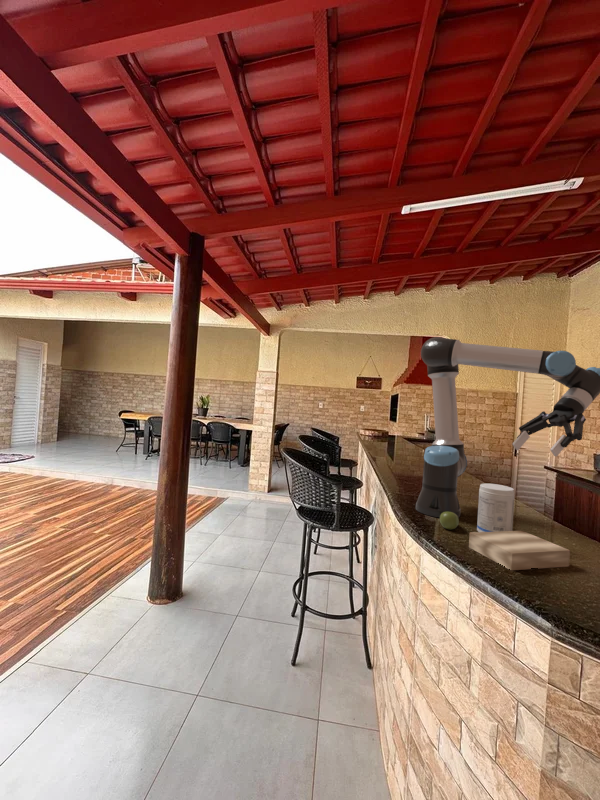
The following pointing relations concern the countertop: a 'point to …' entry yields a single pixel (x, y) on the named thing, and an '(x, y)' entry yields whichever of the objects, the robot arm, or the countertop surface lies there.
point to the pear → (449, 520)
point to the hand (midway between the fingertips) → (533, 450)
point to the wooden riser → (519, 550)
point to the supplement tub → (495, 508)
